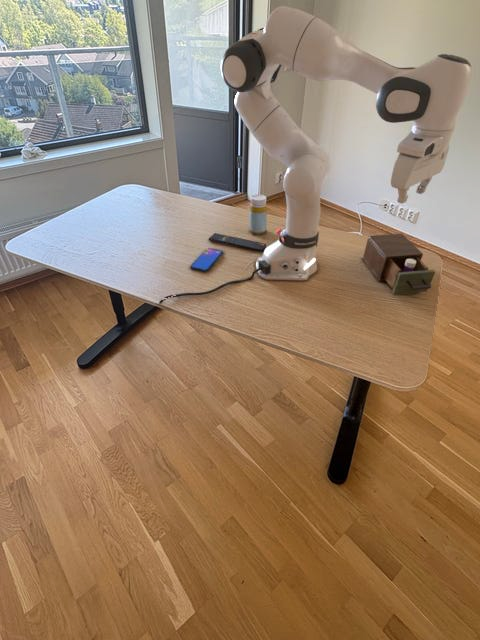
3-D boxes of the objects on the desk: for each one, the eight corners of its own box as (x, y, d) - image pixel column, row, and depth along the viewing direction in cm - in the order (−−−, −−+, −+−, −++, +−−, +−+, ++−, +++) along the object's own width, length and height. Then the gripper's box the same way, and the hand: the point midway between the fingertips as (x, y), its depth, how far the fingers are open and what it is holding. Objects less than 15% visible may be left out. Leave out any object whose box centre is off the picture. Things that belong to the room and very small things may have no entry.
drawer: (434, 299, 110) (443, 279, 105) (399, 302, 109) (406, 282, 104) (407, 269, 124) (414, 250, 118) (376, 272, 123) (381, 252, 117)
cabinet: (413, 278, 121) (423, 253, 115) (378, 281, 120) (386, 256, 113) (394, 256, 132) (402, 233, 126) (362, 259, 131) (368, 235, 125)
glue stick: (401, 284, 115) (409, 264, 109) (397, 279, 117) (404, 258, 112) (410, 283, 115) (418, 263, 110) (405, 278, 117) (413, 258, 112)
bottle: (264, 235, 146) (266, 201, 137) (248, 234, 148) (248, 200, 138) (267, 228, 152) (268, 194, 142) (251, 227, 153) (251, 193, 143)
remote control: (215, 235, 147) (214, 232, 146) (267, 247, 139) (267, 244, 138) (209, 241, 143) (208, 238, 143) (262, 253, 136) (262, 250, 135)
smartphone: (189, 266, 127) (207, 247, 137) (189, 268, 128) (207, 249, 138) (206, 270, 125) (223, 250, 135) (207, 272, 126) (224, 252, 136)
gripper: (437, 130, 89) (419, 184, 98) (394, 145, 79) (379, 204, 88) (462, 135, 86) (441, 190, 95) (420, 151, 76) (401, 211, 85)
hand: (411, 197), depth 91 cm, fingers open, 8 cm apart
